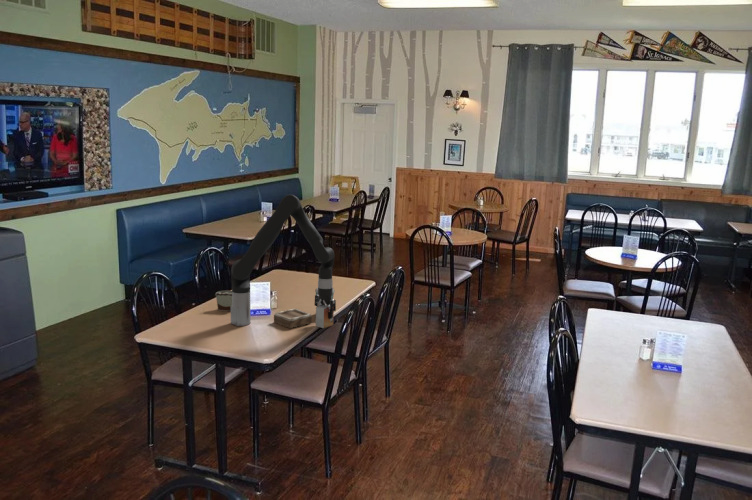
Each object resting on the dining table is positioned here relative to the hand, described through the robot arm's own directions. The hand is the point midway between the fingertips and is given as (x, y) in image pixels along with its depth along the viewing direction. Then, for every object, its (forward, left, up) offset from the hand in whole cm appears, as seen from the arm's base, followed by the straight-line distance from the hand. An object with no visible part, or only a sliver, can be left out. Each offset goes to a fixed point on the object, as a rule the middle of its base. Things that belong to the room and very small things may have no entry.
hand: (324, 316), depth 335 cm
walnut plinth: (-10, +14, -5) cm, 18 cm away
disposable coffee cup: (+13, +16, -5) cm, 21 cm away
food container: (-23, +56, -5) cm, 61 cm away
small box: (0, 0, -5) cm, 5 cm away
